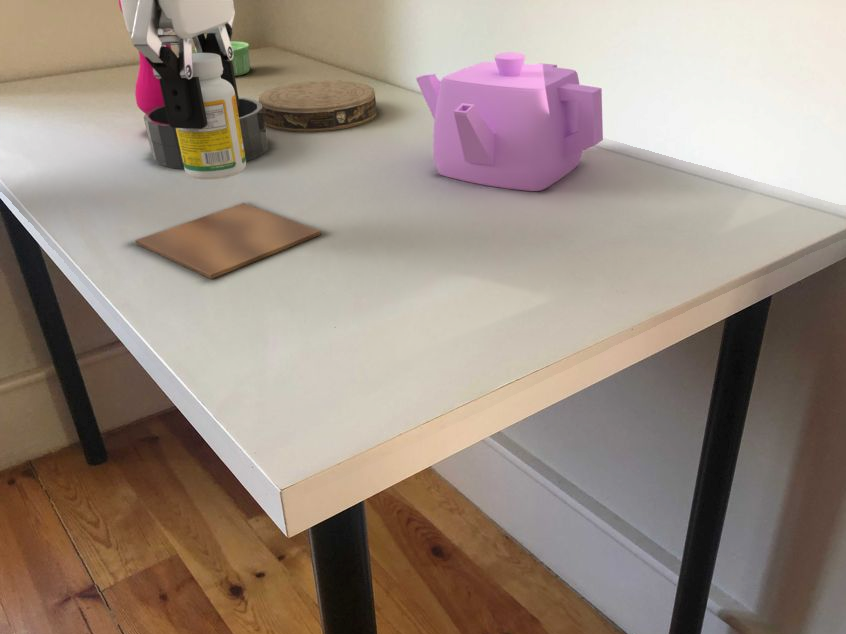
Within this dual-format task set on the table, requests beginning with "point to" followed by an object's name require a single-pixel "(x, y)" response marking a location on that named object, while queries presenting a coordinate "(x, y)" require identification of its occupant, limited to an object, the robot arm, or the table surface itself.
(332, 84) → the wood slice
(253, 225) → the mat
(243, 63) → the ramekin
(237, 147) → the supplement bottle
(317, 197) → the table surface
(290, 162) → the table surface
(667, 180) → the table surface
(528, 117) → the teakettle
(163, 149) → the pan
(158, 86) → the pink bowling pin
